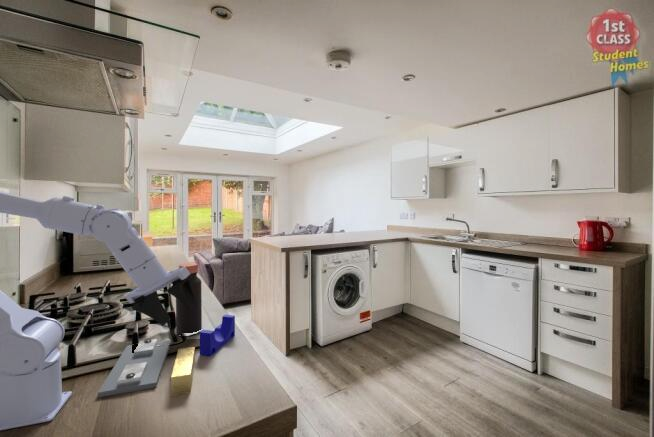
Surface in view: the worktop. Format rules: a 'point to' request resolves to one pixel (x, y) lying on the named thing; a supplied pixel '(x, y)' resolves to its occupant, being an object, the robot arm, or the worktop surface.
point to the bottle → (184, 318)
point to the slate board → (127, 358)
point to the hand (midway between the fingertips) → (180, 316)
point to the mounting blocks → (137, 371)
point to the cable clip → (217, 336)
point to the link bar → (183, 371)
